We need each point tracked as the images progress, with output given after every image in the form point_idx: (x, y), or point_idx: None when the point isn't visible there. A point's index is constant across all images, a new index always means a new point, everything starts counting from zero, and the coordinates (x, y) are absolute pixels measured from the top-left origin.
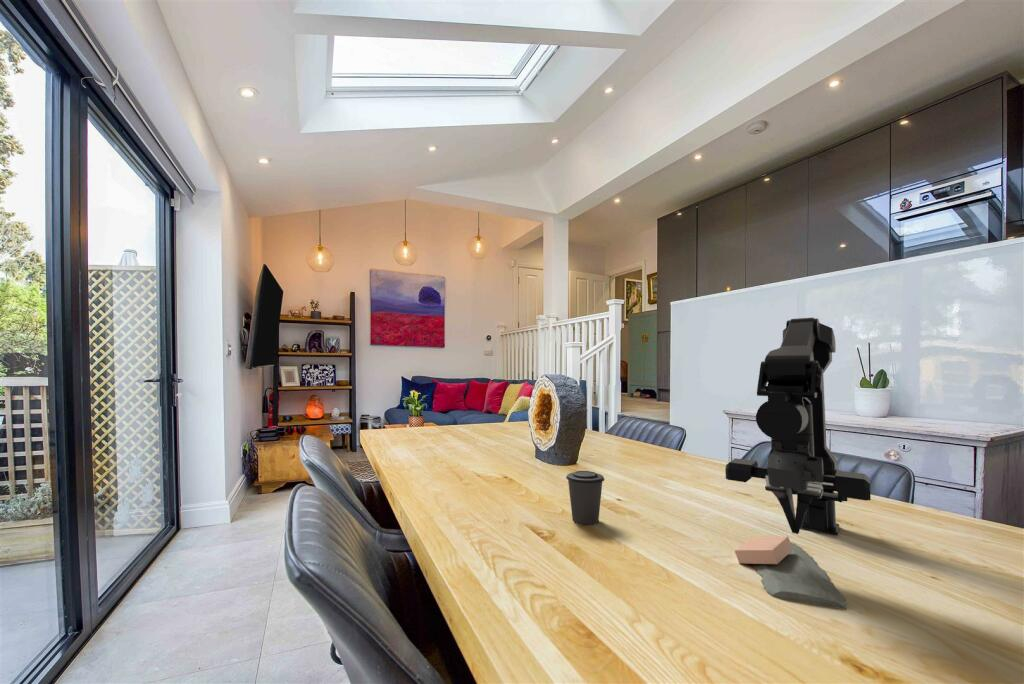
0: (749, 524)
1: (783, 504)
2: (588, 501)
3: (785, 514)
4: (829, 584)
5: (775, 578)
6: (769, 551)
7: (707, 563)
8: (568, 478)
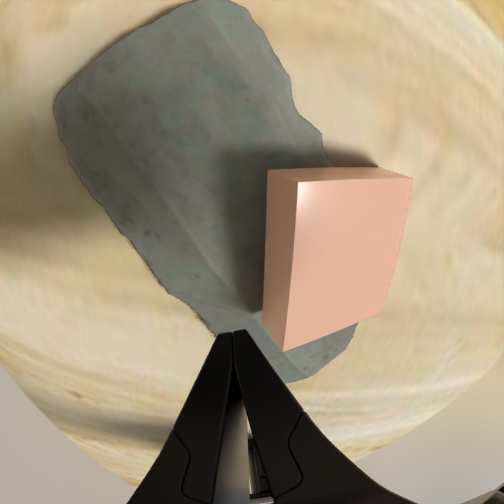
0: (376, 392)
1: (316, 459)
2: None
3: (290, 396)
4: (111, 198)
5: (241, 71)
6: (308, 180)
7: (439, 101)
8: None
